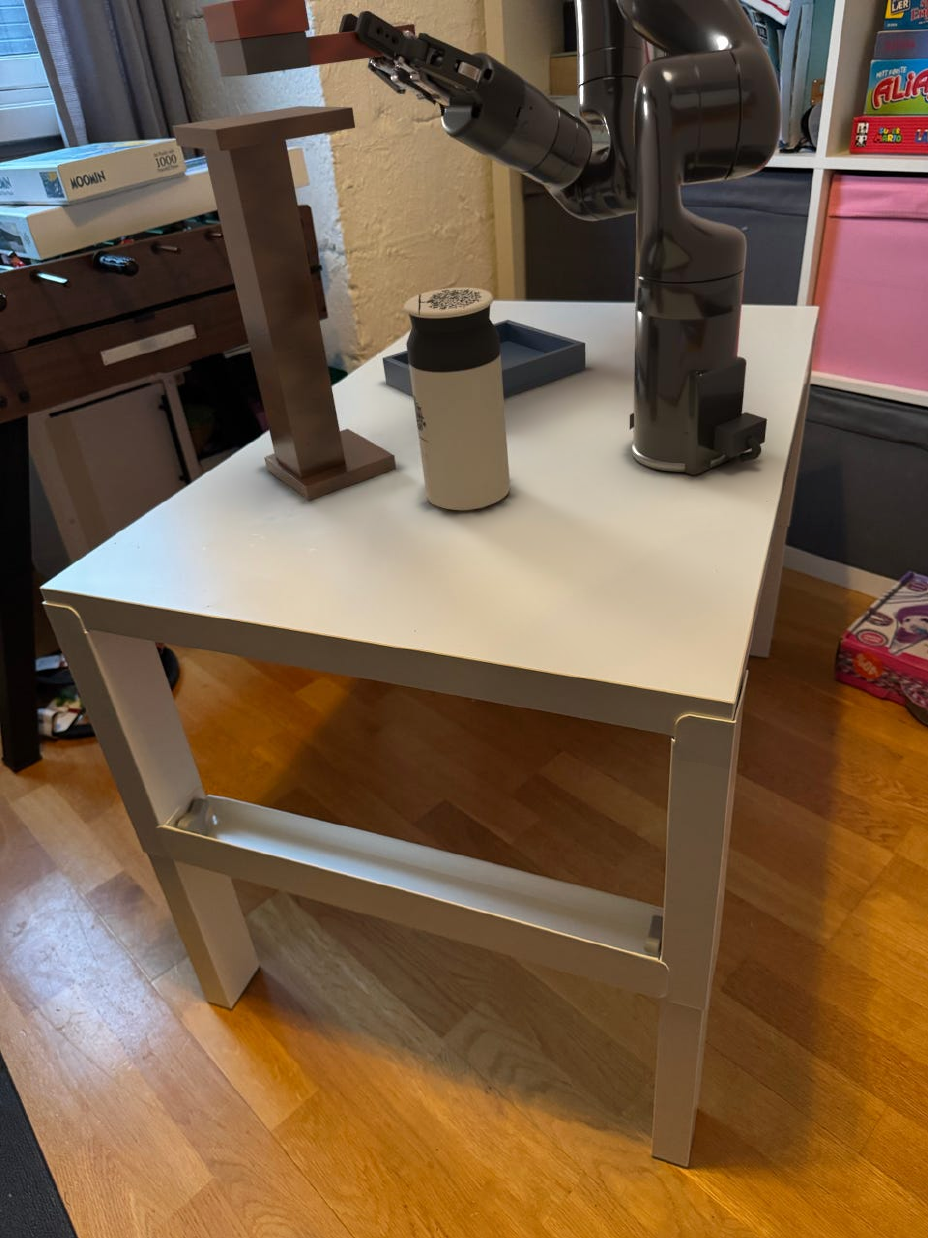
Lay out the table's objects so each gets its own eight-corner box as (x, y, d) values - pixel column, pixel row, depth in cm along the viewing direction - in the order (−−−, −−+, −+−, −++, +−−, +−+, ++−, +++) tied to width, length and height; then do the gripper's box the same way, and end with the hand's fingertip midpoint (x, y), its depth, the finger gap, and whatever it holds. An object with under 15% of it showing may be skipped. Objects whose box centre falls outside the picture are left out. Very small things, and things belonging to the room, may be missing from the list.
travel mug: (512, 473, 86) (499, 283, 76) (507, 511, 80) (491, 309, 70) (433, 476, 87) (409, 289, 77) (420, 514, 81) (393, 316, 71)
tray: (585, 369, 108) (585, 342, 107) (455, 415, 100) (452, 387, 98) (509, 343, 119) (507, 319, 118) (386, 383, 111) (382, 357, 109)
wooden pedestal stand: (299, 504, 85) (215, 129, 67) (258, 472, 92) (171, 125, 74) (404, 465, 90) (352, 106, 72) (357, 438, 97) (299, 105, 79)
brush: (247, 75, 68) (232, 0, 66) (217, 76, 73) (201, 6, 70) (429, 49, 76) (422, -19, 73) (392, 53, 80) (384, -12, 77)
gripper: (471, 75, 89) (325, -18, 78) (560, 71, 79) (407, -35, 68) (448, 153, 91) (302, 73, 80) (532, 159, 81) (378, 69, 70)
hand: (351, 24), depth 74 cm, fingers closed on brush, 2 cm apart
